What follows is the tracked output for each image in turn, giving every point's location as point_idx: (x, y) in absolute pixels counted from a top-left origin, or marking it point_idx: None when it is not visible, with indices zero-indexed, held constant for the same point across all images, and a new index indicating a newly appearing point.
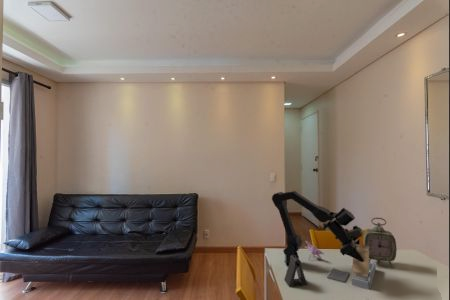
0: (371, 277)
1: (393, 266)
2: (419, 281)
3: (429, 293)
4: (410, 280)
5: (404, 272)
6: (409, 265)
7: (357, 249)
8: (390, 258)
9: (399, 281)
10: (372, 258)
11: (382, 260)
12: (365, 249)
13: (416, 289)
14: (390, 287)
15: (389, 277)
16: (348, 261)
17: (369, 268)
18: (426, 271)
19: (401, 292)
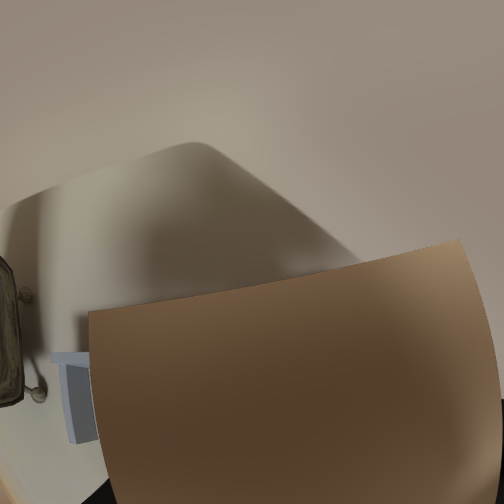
0: None
1: (27, 288)
2: (106, 189)
3: (189, 146)
4: (110, 211)
5: (53, 247)
6: (7, 249)
7: (488, 448)
8: (6, 281)
9: (141, 239)
10: (21, 371)
11: (17, 322)
12: (446, 294)
13: (182, 176)
14: (238, 252)
15: (122, 284)
16: (76, 487)
17: (86, 388)
18: (32, 200)
19: (255, 205)
